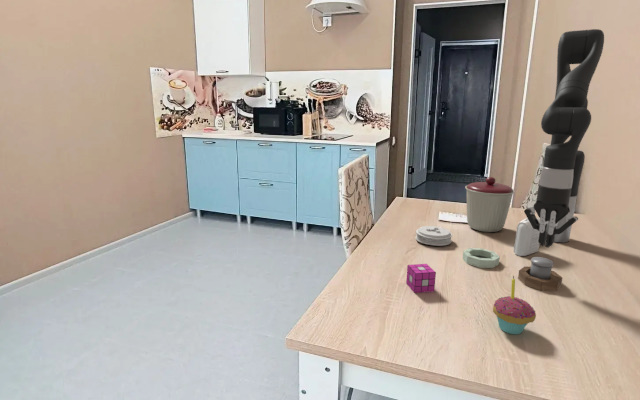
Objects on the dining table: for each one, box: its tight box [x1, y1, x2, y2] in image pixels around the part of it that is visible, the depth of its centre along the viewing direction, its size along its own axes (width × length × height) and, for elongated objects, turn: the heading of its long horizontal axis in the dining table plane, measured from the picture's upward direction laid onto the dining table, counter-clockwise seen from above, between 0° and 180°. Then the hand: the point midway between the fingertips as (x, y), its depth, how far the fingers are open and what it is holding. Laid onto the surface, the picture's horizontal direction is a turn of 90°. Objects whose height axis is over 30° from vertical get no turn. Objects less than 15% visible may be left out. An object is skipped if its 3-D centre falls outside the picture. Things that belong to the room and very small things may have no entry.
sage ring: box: [462, 247, 501, 269], centre depth 124 cm, size 10×10×2 cm
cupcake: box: [492, 275, 537, 335], centre depth 86 cm, size 9×8×12 cm
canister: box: [464, 176, 516, 233], centre depth 154 cm, size 18×18×21 cm
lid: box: [415, 225, 453, 247], centre depth 141 cm, size 13×13×5 cm
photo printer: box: [513, 217, 540, 257], centre depth 130 cm, size 10×4×12 cm, turn 123°
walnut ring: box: [517, 266, 563, 292], centre depth 110 cm, size 10×10×2 cm
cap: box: [530, 256, 554, 280], centre depth 109 cm, size 5×5×6 cm
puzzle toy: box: [405, 263, 437, 294], centre depth 105 cm, size 6×6×6 cm
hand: (545, 245), depth 107 cm, fingers closed
